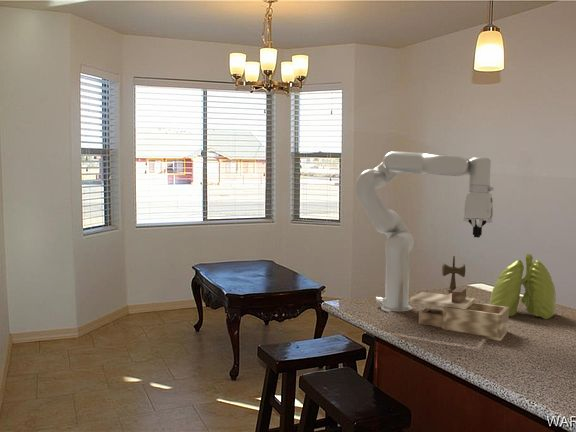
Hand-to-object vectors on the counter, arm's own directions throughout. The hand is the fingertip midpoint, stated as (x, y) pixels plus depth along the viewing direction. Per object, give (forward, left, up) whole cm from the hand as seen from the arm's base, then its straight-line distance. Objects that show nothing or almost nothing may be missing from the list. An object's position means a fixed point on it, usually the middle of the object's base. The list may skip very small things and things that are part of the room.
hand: (477, 237), depth 222 cm
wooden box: (0, -18, -32) cm, 37 cm away
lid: (-7, -18, -23) cm, 30 cm away
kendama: (-15, +25, -32) cm, 43 cm away
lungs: (+14, +19, -32) cm, 40 cm away
